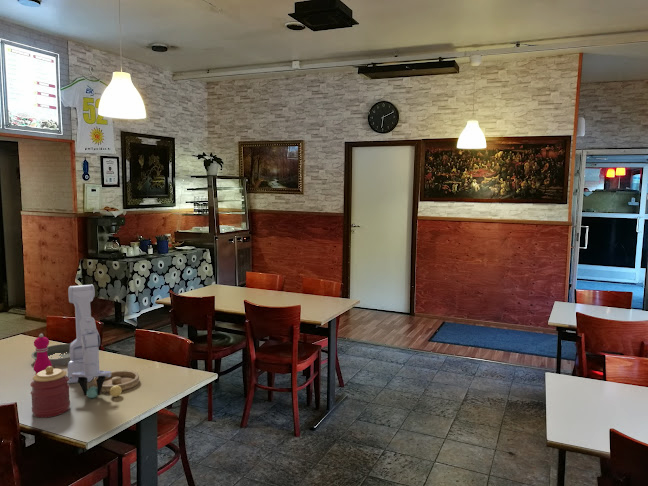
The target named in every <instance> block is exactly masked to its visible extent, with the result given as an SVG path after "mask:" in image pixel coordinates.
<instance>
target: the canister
mask: <svg viewBox="0 0 648 486" xmlns="http://www.w3.org/2000/svg"><path fill="white" fill-rule="evenodd" d="M35 374H36V373H35ZM35 374H34V375H33V376H32V381H31V382H30V387H31V391H30V395H31V413H32V416H34V417H36V418H51V417H56V416H59V415H62V414H64V413H66V412H67V411H69V409H70V406H71V400H70V384H69V383H68V381H69V377H68V375H67V371H65V370H63V369H61V368H58V367H57V368H54V366H48V367H47V368H46V370H43V371H40V372H38V373H37V374H36V375H35Z"/></svg>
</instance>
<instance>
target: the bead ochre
mask: <svg viewBox="0 0 648 486" xmlns="http://www.w3.org/2000/svg"><path fill="white" fill-rule="evenodd" d="M122 392H123V391H122V389H121V387H120V386H118V385H115V386H113V387H111V389H110V393H109V395H110V396H111V397H114V398H117V397H119V396H121V394H122Z"/></svg>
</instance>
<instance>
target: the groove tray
mask: <svg viewBox="0 0 648 486" xmlns="http://www.w3.org/2000/svg"><path fill="white" fill-rule="evenodd" d="M97 378H98V377H94V378H93V379H92V387H93V386H94V387H97V381H96V380H97ZM139 382H140V375H139V373H138V372H136V371H133V370H114V371H111V377H106V378H105V380H104V382H103V385H102V389H101V393H104V394H107V393H108V394H110V389H111V387H113V386H115V385H118V386H120V387H121V389H122V392H124V391H128V390H131V389H134V387H136V386H137V385H138V384H139ZM97 388H98V387H97Z"/></svg>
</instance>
